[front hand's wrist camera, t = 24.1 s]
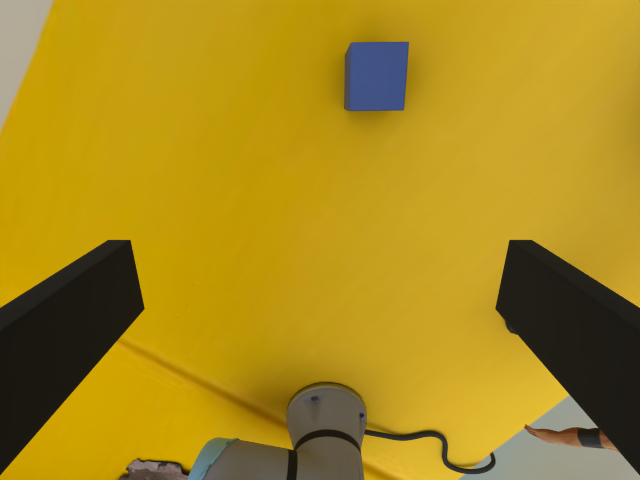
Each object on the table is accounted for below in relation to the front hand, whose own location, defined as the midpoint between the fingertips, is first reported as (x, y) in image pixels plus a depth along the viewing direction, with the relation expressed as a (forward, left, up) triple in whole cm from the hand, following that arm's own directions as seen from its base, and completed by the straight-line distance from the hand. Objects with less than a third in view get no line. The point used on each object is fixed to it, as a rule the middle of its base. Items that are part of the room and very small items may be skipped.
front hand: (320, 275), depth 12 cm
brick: (-2, -10, -40) cm, 41 cm away
